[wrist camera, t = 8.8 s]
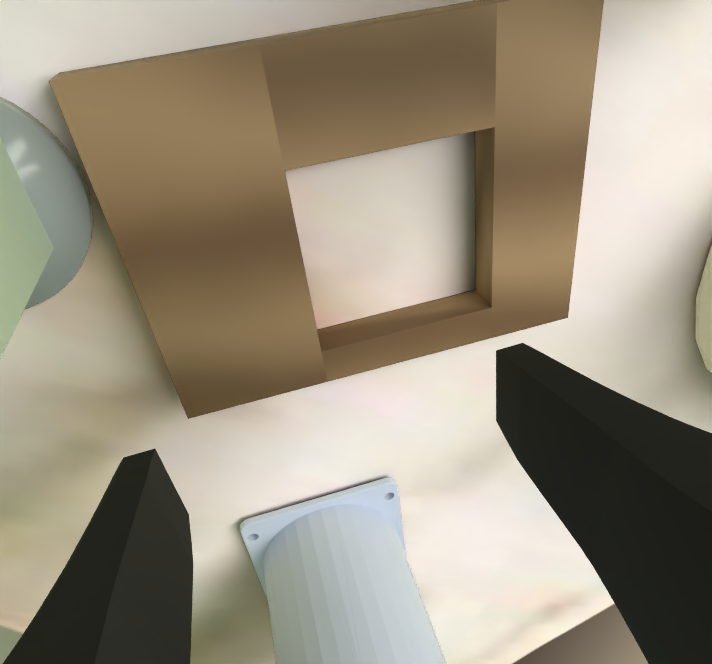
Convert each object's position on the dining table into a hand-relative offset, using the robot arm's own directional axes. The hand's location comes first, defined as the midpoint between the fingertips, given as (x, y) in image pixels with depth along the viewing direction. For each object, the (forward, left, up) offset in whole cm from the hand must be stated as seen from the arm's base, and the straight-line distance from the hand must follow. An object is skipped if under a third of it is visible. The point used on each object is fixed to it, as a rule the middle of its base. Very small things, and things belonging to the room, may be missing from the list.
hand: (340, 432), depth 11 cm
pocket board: (0, -3, -10) cm, 11 cm away
